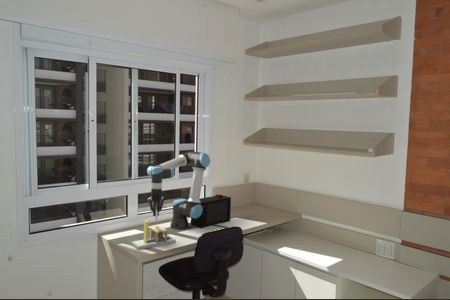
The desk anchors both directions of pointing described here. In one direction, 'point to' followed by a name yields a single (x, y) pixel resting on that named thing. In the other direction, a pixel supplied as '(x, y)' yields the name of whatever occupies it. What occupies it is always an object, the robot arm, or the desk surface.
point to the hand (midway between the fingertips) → (155, 220)
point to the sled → (147, 233)
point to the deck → (152, 243)
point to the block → (158, 234)
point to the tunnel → (157, 230)
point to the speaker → (213, 211)
